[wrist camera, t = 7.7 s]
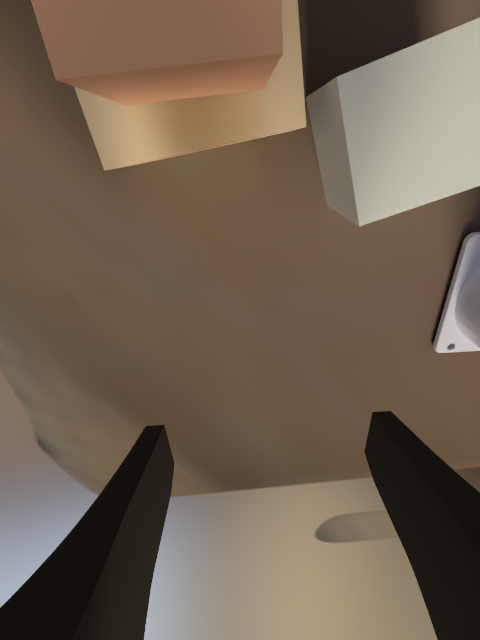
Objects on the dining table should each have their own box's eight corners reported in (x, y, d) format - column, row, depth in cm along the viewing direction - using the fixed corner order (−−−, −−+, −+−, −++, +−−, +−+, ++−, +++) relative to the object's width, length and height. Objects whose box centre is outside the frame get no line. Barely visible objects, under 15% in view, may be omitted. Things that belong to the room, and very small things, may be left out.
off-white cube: (416, 52, 14) (503, 8, 9) (422, 171, 16) (493, 181, 12) (305, 97, 14) (336, 76, 10) (326, 205, 17) (359, 226, 12)
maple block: (266, -122, 11) (280, -243, 8) (289, 131, 15) (306, 126, 12) (60, -64, 12) (-13, -152, 8) (133, 165, 16) (104, 170, 12)
